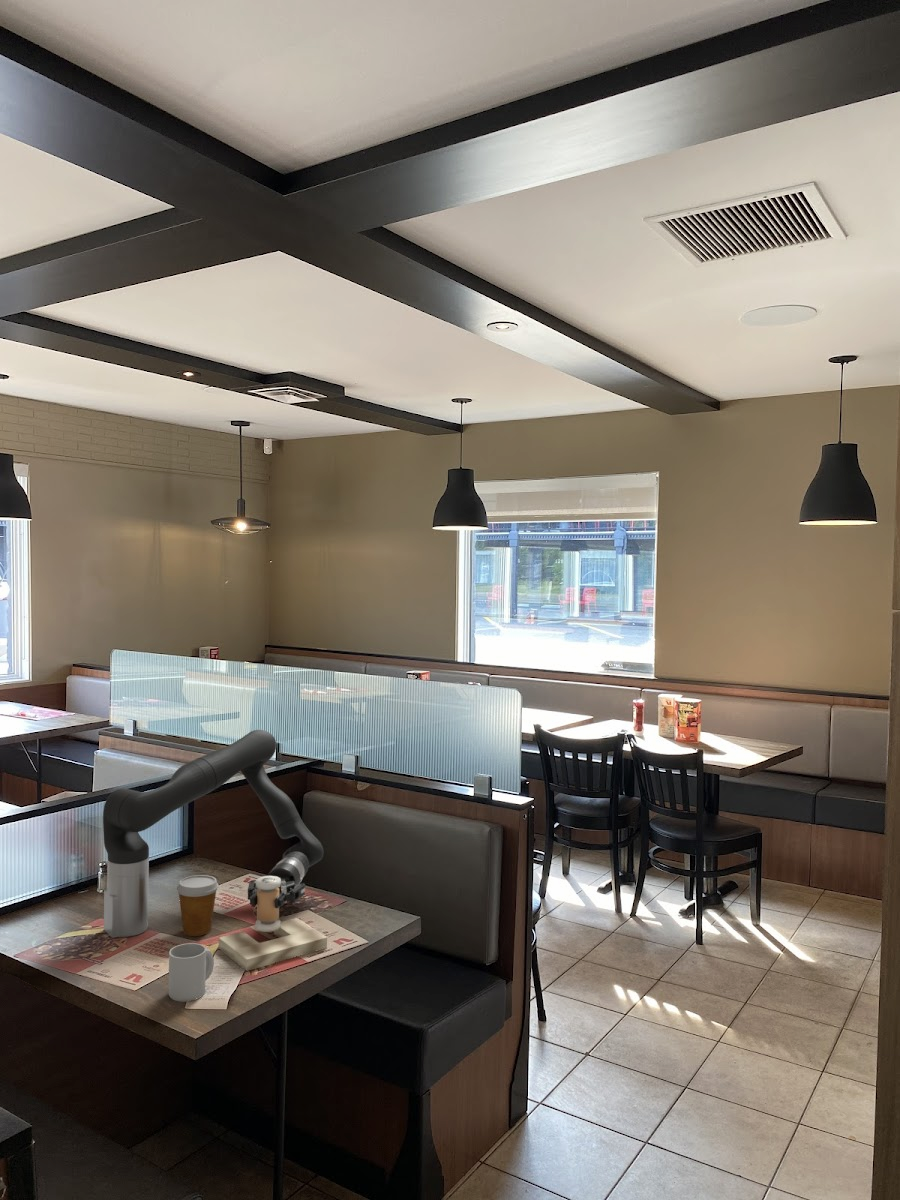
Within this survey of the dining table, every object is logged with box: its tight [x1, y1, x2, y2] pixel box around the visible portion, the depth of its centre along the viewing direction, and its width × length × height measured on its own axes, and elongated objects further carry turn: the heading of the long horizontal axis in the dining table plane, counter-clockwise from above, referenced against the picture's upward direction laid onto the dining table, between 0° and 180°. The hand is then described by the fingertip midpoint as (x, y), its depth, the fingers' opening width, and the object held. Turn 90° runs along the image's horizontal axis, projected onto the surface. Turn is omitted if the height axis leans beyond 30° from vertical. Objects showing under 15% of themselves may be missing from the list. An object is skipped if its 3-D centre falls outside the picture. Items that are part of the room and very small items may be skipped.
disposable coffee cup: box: [176, 874, 219, 937], centre depth 215 cm, size 10×10×12 cm
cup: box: [168, 942, 215, 1003], centre depth 185 cm, size 7×10×9 cm
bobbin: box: [255, 875, 281, 933], centre depth 209 cm, size 6×6×11 cm
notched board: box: [218, 917, 328, 972], centre depth 206 cm, size 20×14×2 cm
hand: (264, 903), depth 206 cm, fingers closed on bobbin, 5 cm apart
